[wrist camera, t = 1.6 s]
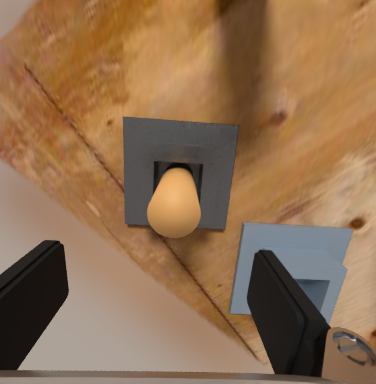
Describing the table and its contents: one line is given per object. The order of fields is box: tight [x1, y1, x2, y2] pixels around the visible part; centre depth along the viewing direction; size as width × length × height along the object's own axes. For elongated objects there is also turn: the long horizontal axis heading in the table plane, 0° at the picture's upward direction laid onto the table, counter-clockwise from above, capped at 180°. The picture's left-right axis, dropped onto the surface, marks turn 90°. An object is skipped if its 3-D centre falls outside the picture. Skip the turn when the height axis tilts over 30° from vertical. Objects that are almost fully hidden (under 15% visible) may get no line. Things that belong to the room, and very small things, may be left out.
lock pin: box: [147, 163, 201, 238], centre depth 23 cm, size 4×4×14 cm
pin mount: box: [123, 117, 239, 229], centre depth 28 cm, size 16×16×6 cm
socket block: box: [229, 222, 353, 325], centre depth 33 cm, size 18×18×6 cm
